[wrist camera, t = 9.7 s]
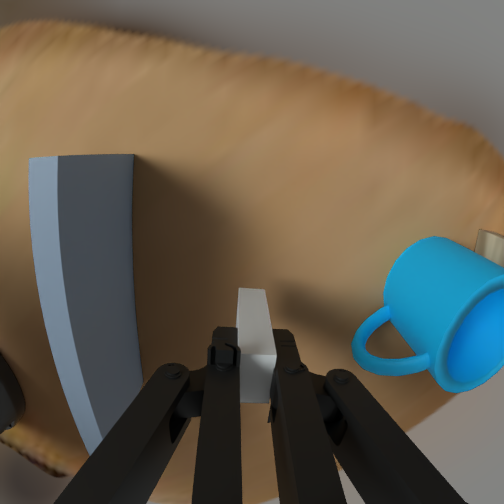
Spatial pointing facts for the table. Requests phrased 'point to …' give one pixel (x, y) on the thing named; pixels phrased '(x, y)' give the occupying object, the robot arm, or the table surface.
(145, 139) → the table surface
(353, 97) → the table surface
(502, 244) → the block
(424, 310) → the mug
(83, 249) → the screen
